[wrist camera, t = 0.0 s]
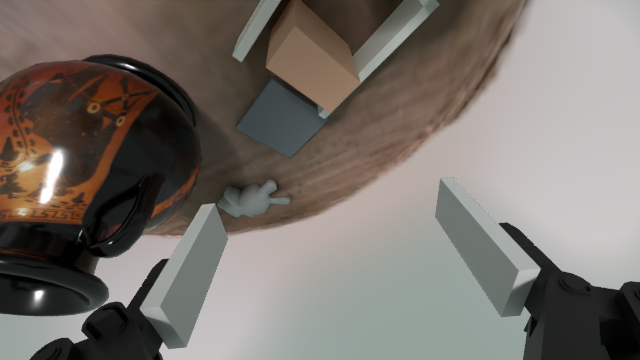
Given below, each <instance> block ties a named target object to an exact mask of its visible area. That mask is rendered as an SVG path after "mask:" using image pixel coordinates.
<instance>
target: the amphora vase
mask: <svg viewBox="0 0 640 360" xmlns="http://www.w3.org/2000/svg"><path fill="white" fill-rule="evenodd" d="M195 126H196V119H195V112H194V110H193V107H192V105H191V103H190V101H189V99H188V98H187V96H186V95H185V94H184V93H183V91H182V90H181V89H180V88H179V86H177V85H176V84H175V83H174V82H173V81H172V80H170V79H169V78H168V77H167V76H166V75H165V74H163V73H161V72H160V71H158V70H156V69H155V68H153V67H151V66H150V65H148V64H145V63H143V62H140V61H137V60H135V59H132V58H129V57H124V56H118V55H112V54H104V55H92V56H90V57H87V58H85V59H83V60H69V61H54V62H46V63H39V64H35V65H33V66H30V67H28V68H26V69H23V70H21V71H19V72H16V73H15V74H13V75H11V76H10V77H8V78H6V79H5V80H3V81H1V82H0V313H1V314H11V315H25V316H65V315H75V314H80V313H86V312H89V311H91V310H94V309H96V308H98V307H100V306H102V305H103V304H104V302H105V301H106V300H107V299H108V298H109V291H108V288H107V286H106V285H105V283H104V282H103V281H102V280H101V279H100V278H98V277H96V276H95V275H94V273H95V269H96V265H97V262H98V260H99V259H100V258H101V257H102V258H112V257H117V256H119V255H121V254H122V253H124V252H126V251H127V250H129V249H130V248H131V246H132V245H133V244H134V243H135V242H136V241H137V240H138V239H139V238H140V237H141V236H142V235H144V234H146V233H148V232H150V231H152V230H154V229H155V228H157V227H158V226H160V225H161V224H163V223H164V222H165V221H166V220H168V219H169V218H170V217H171V216H172V215H173V214H174V213H175V212H176V211H177V209H178V208H179V207H180V206H181V205H182V204H183V202H184V201H185V200H186V199H187V198H188V196H189V195H190V193H191V191H192V189H193V188H194V186H195V184H196V181H197V177H198V173H199V169H200V165H201V161H202V155H201V148H200V142H199V137H198V134H197V132H196V130H195Z"/></svg>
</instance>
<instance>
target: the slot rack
mask: <svg viewBox="0 0 640 360" xmlns="http://www.w3.org/2000/svg"><path fill="white" fill-rule="evenodd" d="M280 1H281V0H261V1H260V2H259V4H258V6H257V7H256V9H255V11H254V12H253V14H252V16H251V18H250V19H249V21H248V23H247V24H246V26H245V28H244V29H243V31H242V33H241V34H240V36H239V38H238V40H237V43H236V46H235V49H234V52H233V55H232V56H233V57H234V58H236V59H237V60H239V61H240V62H242V61H243V59H244V58H245V56H246V55H247V53H248V51H249V50H250V48H251V47H252V45H253V44H254V42H255V40H256V39H257V37H258V36H259V34H260V33H261V31H262V29H263V28H264V26H265V25H266V23H267V22H268V20H269V18H270V17H271V15H272V14H273V12H274V11H275V9H276V7H277V6H278V4H279V3H280ZM438 6H439V3H438V2H437V0H404V1H403V2H402V3H401V4H400V5H399V6H398V7H397V8H396V9H395V10H394V11H393V13H392V14H391V15H390V16H389V17H388V18H387V19H386V20H385V21H384V22H383V24H382V25H381V26H380V27H379V28H378V29H377V30H376V31H375V32H374V33H373V34H372V36H371V37H370V38H369V39H368V40H367V41H366V42H365V43H364V44H363V45H362V46H361V48H360V49H359V50H358V51H357V52H356V53H355V54H354V55H353V56H352V57H353V60H354V63H355V66H356V69H357V72H358V75H359V78H360V81H361V83H362V82H363V81H364V80H365V79H366V78H367V77H368V76H369V75H370V74H371V73H372V72H373V71H374V70H375V69H376V68H377V67H378V66H379V65H380V64H381V63H382V62H383V61H384V60H385V59H386V58H387V57H388V56H389V55H390V54H391V53H392V52H393V51H394V50H395V49H396V48H397V47H398V46H399V45H400V44H401V43H402V42H403V41H404V40H405V39H406V38H407V37H408V36H409V35H410V34H411V33H412V32H413V31H414V30H415V29H416V28H417V27H418V26H419V25H420V24H421V23H422V22H423V21H424V20H425V19H426V18H427V17H428V16H429V15H430V14H431V13H432V12H433V11H434V10H435V9H436V8H437V7H438ZM361 83H360V84H361ZM360 84H359V85H360ZM359 85H358V86H359ZM358 86H357V87H358ZM357 87H356V88H357ZM356 88H355V89H356ZM355 89H354V90H355ZM354 90H353V91H354ZM353 91H352V92H353ZM352 92H351V93H352ZM351 93H350V94H351ZM350 94H349V95H350ZM349 95H348V96H349ZM348 96H347V97H348ZM347 97H346V98H347ZM346 98H345V99H346ZM345 99H344V100H345ZM344 100H343V101H344ZM343 101H342V102H343ZM342 102H341V103H342ZM341 103H340V104H341ZM340 104H339V105H340ZM339 105H338V106H339ZM317 106H318V115H319V116H321V117H322V118H324V119H325V118H326V117H327V116H328V115H329V114H330V113H329V112H328V111H327V110H325V109H324V108H322V107H321V106H320V105H318V104H317ZM338 106H337V107H338ZM337 107H336V108H337ZM336 108H335V109H336ZM335 109H334V110H335ZM334 110H333V111H334ZM333 111H332V112H333ZM332 112H331V113H332Z"/></svg>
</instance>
